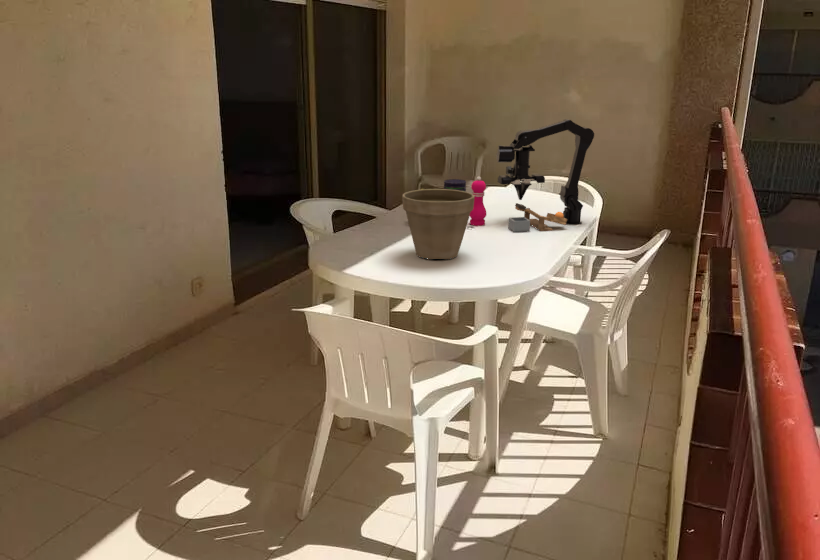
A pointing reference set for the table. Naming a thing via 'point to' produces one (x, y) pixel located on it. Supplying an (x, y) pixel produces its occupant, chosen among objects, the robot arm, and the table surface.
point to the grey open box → (519, 224)
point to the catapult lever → (548, 218)
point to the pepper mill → (478, 203)
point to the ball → (559, 214)
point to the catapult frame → (537, 222)
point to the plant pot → (437, 220)
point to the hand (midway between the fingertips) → (520, 199)
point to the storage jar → (455, 184)
